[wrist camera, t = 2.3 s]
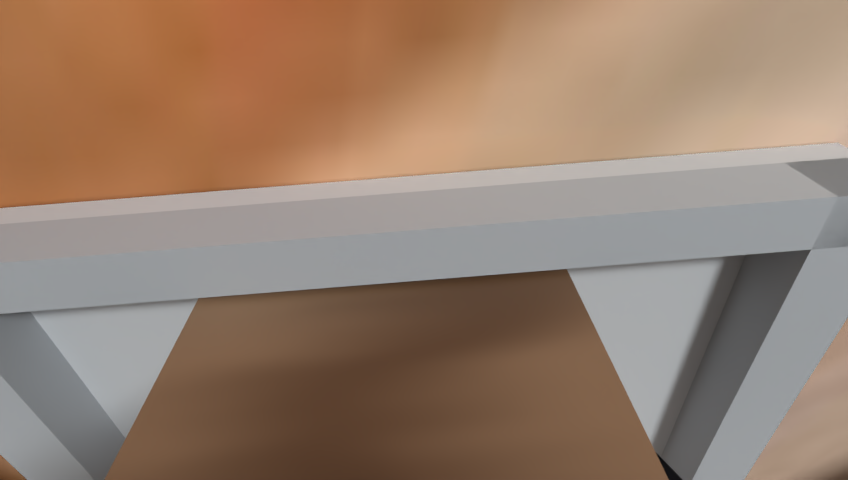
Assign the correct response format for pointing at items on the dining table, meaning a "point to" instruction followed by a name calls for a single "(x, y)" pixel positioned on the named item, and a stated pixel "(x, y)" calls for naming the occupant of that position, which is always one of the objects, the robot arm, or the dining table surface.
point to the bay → (439, 259)
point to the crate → (391, 388)
